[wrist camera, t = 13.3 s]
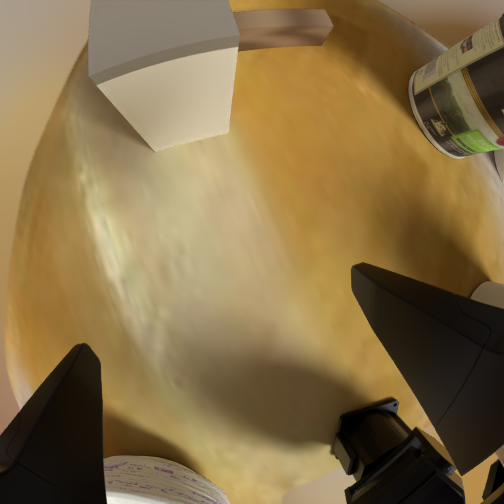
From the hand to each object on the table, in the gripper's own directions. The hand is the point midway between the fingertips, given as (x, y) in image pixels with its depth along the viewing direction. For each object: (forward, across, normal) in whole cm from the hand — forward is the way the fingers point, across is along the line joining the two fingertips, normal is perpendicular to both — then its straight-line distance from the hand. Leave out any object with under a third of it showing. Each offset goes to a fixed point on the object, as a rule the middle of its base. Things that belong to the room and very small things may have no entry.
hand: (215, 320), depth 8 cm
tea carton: (+16, -1, -6) cm, 17 cm away
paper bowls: (+3, +14, +24) cm, 28 cm away
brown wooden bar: (+18, -4, -11) cm, 21 cm away
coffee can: (+15, -25, -3) cm, 30 cm away
